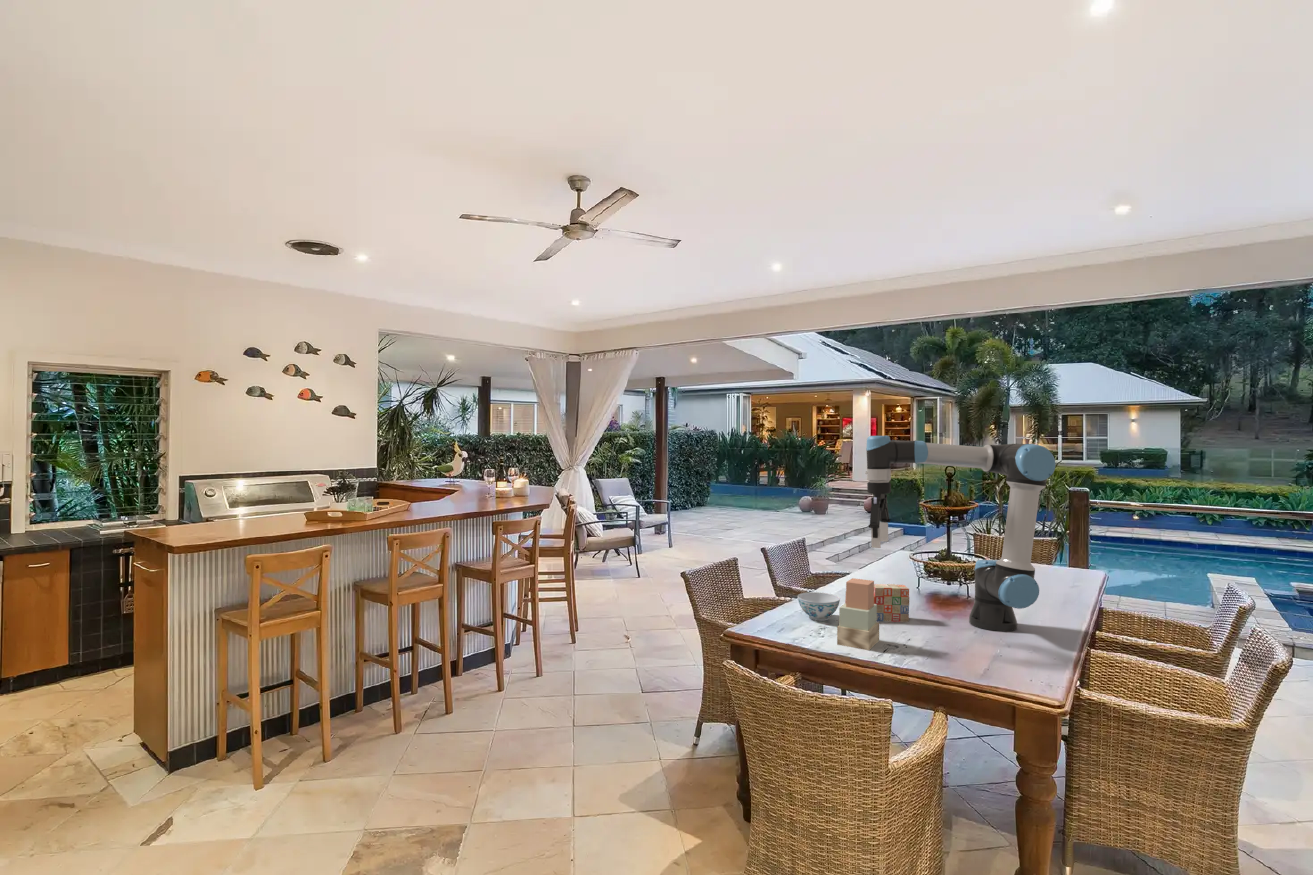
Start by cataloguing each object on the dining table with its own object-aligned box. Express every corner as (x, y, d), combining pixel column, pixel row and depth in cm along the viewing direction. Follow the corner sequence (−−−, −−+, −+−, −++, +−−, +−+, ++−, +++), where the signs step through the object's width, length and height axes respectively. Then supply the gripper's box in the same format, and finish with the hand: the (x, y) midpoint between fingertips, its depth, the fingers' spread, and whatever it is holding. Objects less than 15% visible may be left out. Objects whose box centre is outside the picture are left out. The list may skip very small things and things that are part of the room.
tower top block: (876, 622, 215) (876, 604, 215) (867, 630, 206) (867, 611, 206) (848, 618, 220) (849, 600, 220) (839, 626, 211) (839, 607, 211)
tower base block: (879, 641, 215) (879, 622, 215) (868, 651, 205) (868, 631, 205) (848, 635, 221) (848, 617, 221) (837, 645, 211) (837, 626, 211)
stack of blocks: (849, 621, 238) (849, 587, 237) (844, 616, 244) (845, 583, 244) (909, 622, 237) (909, 588, 237) (903, 617, 243) (903, 584, 243)
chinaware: (823, 611, 250) (823, 590, 250) (848, 621, 236) (848, 600, 236) (789, 614, 245) (789, 594, 245) (813, 626, 231) (813, 604, 231)
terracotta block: (873, 605, 214) (874, 580, 214) (868, 610, 208) (868, 584, 208) (852, 602, 218) (852, 578, 218) (845, 606, 212) (846, 582, 212)
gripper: (875, 478, 234) (876, 538, 234) (859, 484, 212) (860, 549, 213) (897, 478, 230) (898, 539, 231) (883, 484, 209) (884, 551, 209)
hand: (880, 544), depth 222 cm, fingers open, 13 cm apart
